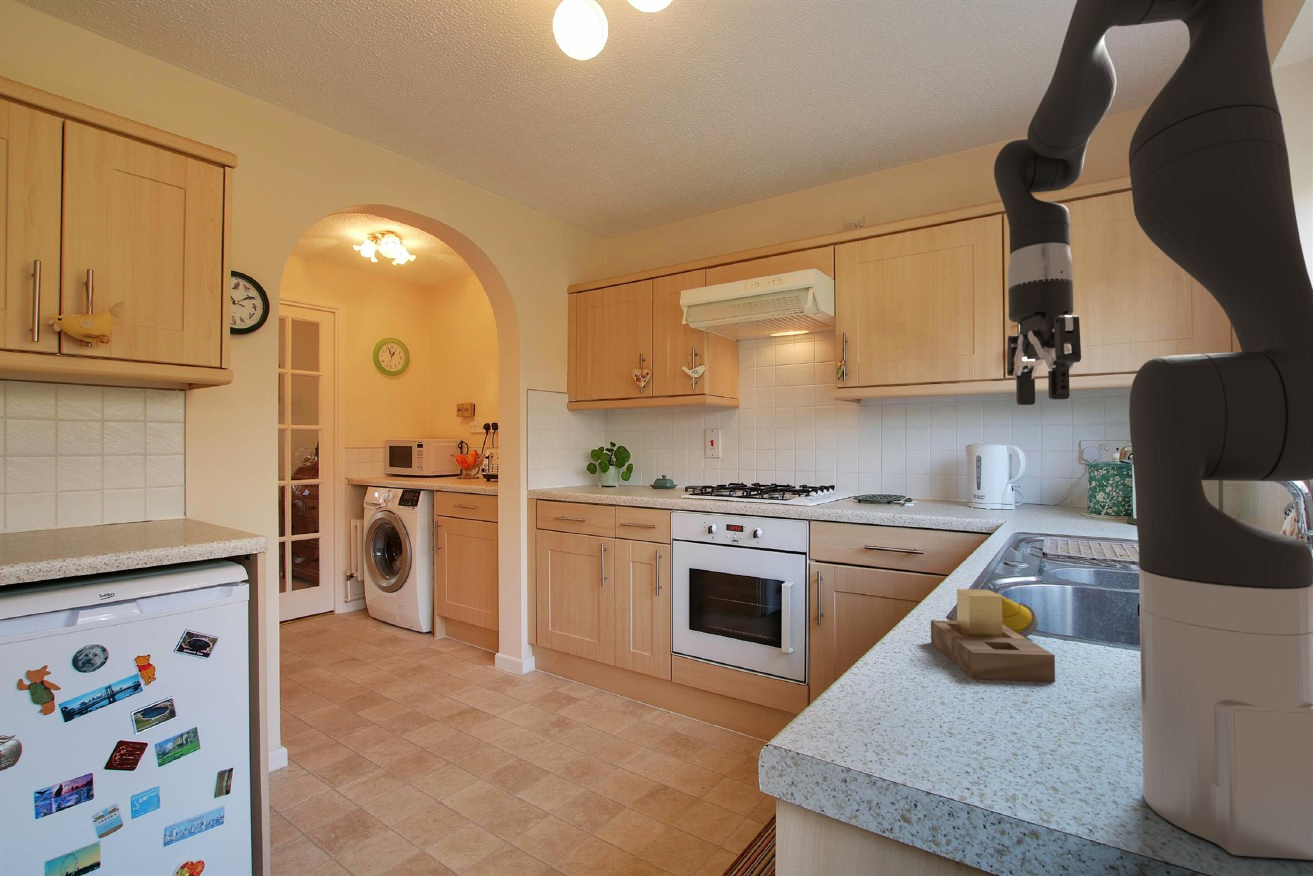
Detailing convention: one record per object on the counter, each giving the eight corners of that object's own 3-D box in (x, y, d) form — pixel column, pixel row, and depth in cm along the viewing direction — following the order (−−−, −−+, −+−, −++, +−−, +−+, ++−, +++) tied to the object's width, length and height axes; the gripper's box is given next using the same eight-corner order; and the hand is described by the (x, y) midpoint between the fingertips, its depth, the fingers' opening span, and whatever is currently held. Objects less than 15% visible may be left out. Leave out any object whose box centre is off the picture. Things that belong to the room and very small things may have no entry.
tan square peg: (1002, 660, 78) (1001, 596, 78) (969, 659, 78) (969, 595, 79) (989, 650, 82) (988, 589, 82) (957, 649, 82) (956, 589, 83)
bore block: (1055, 681, 71) (1054, 655, 71) (972, 678, 71) (972, 652, 71) (999, 644, 84) (998, 622, 85) (930, 642, 85) (930, 620, 85)
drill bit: (1051, 645, 86) (1018, 601, 82) (1011, 655, 88) (977, 612, 85) (1041, 614, 90) (1009, 571, 87) (1003, 624, 93) (971, 583, 89)
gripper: (1101, 267, 77) (1103, 397, 76) (1041, 296, 91) (1042, 406, 91) (1038, 269, 78) (1039, 397, 77) (988, 297, 92) (989, 406, 91)
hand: (1041, 402), depth 84 cm, fingers open, 8 cm apart
